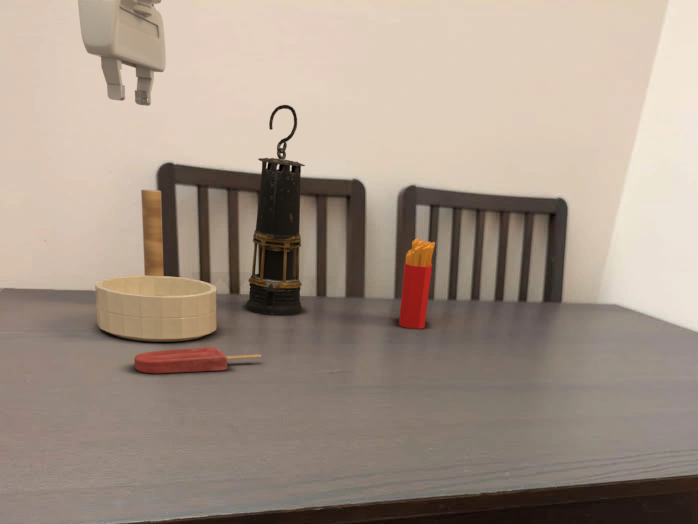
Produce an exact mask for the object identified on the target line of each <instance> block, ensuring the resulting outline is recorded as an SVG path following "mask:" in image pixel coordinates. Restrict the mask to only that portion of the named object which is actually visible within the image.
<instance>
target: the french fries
mask: <svg viewBox="0 0 698 524" xmlns="http://www.w3.org/2000/svg"><path fill="white" fill-rule="evenodd" d="M435 245H436V242H435V241H432V242H431V241H428V242H427V240H423V239H421V240H420V238H418V237H417V238H415V239H414V240H412V241H411V249H409V250H408V251H407V252H406V254H405V255H406V256H405V260H404V267H403V268H404V269H403V277H402V287H401V290H402V291H401V299H400V308H399V310H400V311H399V321H398V325H399V326H400V327H403V328H407V329H415V330H416V329H418V330H420V329H425V327H426V319H427V310H428V303H429V294H430V287H431V280H432V279H431V278H432V269H433V263H432V259H433V254H434V249H435V247H436V246H435Z"/></svg>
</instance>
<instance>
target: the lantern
mask: <svg viewBox="0 0 698 524" xmlns="http://www.w3.org/2000/svg"><path fill="white" fill-rule="evenodd" d="M284 109H285V110H289V111H290V113H291V114H292V116H293V127H292V129H291V132H290V133H289V134H288V135H287V137H283V138H282V139H280V141H278V143H277V144H276V156H277V158H276V157H275V158H274V157H270V158H269V157H263V158H262V157H260V158H259V157H258V158H257V160H258V161H260V162H261V174H260V183H259V185H260V186H259V196H258V206H257V215H256V222H255V230H254V231H253V232H254V233H253V235H252V243H253V258H252V269H251V275H250V277H249V279H248V280H247V282H248V283H249V285H248V286H249V293H248V294H249V298H248V300H247V301H246V306H245V307H246V309H247V310H249V311H250V312H254V313H258V314H261V315H262V314H263V315H273V316H290V315H296V314H297V315H298V314H300V313H301V312H302V311H303V310H302V309H303V308H302V303H301V287H302V285H303V284H302V282H301V280H300V248H301V247H302V240H301V234H300V227H301V226H300V224H301V223H300V221H301V220H300V219H301V216H300V215H301V178H302V177H301V176H302V175H301V174H302V167H306V165H305V164H303V163H301V162H299V161H294V160H290V159H286V158H287V152H286V150H287V147H288V144H287V142H289V141H290V140H291V139H292V138H293V137H294V135H295V133H296V131H297V127H298V116H297V112H296V109H295V108H293V107H292V106H291V105H288V104H280V105H279V106H277V107H275V108H274V110H273V111H272V112H271V114H270V117H269V122H268V124H269V125H268V127H269V131H270V130H271V131H272V130H273V123H274V118H275V115H276V114H277V113H278V111H280V110H284ZM282 144H283V145H282ZM281 146H282V147H281ZM258 248H259V249H258ZM295 250H296V251H295ZM295 252H296V270H295V271H296V273H295V276H294V266H295V265H294V263H295ZM257 255H258V273H256V265H257Z"/></svg>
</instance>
